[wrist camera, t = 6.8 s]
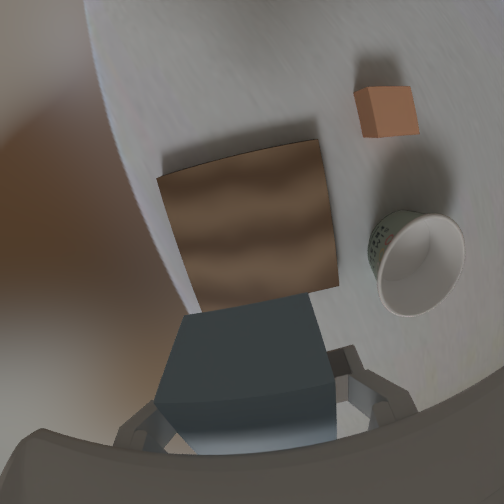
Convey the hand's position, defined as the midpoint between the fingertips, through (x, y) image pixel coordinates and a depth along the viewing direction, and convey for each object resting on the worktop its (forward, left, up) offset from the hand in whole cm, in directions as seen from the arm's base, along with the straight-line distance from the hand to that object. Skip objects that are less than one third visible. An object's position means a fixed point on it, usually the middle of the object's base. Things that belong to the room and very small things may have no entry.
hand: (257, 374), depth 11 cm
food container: (+6, +17, -20) cm, 27 cm away
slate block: (0, 0, -2) cm, 2 cm away
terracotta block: (-10, +16, -20) cm, 27 cm away
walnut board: (0, 0, -20) cm, 20 cm away
